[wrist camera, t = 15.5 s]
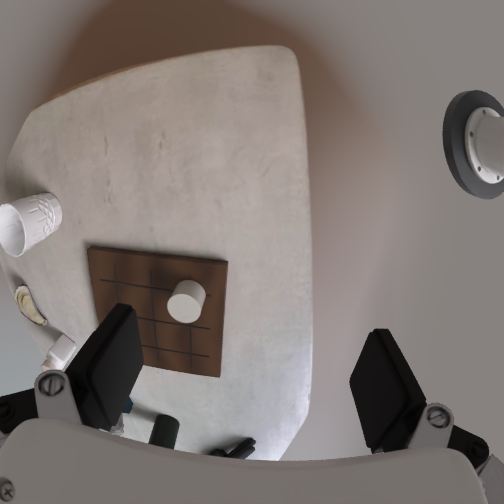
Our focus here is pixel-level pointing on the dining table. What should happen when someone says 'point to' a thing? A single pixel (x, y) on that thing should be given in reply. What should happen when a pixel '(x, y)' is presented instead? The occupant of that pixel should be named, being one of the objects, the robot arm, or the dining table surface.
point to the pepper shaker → (59, 354)
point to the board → (164, 305)
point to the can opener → (237, 451)
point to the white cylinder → (186, 301)
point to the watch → (121, 419)
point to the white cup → (28, 222)
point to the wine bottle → (164, 432)
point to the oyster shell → (28, 305)
